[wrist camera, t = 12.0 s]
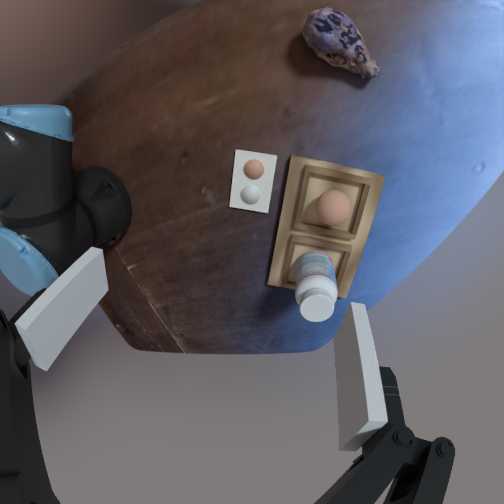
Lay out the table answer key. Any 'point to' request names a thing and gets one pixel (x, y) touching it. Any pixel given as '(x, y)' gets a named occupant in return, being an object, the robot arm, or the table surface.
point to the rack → (317, 232)
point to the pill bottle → (315, 286)
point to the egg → (333, 207)
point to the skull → (339, 42)
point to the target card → (252, 180)
